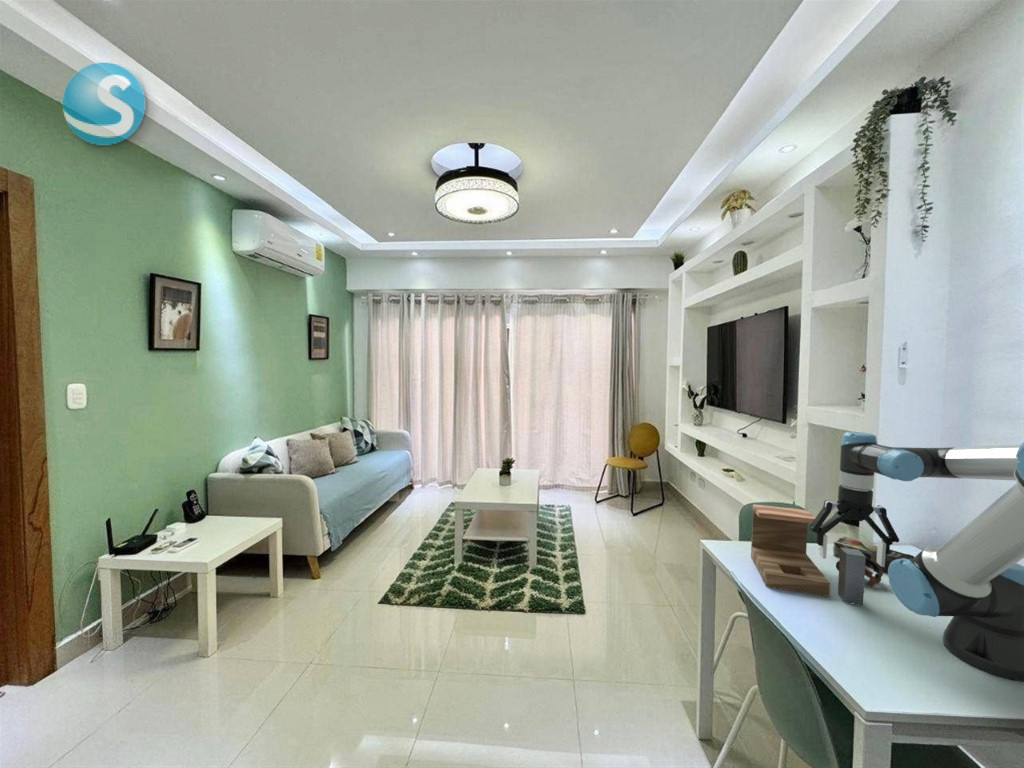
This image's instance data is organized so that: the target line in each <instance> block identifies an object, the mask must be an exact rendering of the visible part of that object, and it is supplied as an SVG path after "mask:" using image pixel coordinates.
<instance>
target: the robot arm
mask: <svg viewBox="0 0 1024 768" xmlns="http://www.w3.org/2000/svg"><path fill="white" fill-rule="evenodd" d="M840 443H841V444H840V458H839V459H840V460H839V479H838V480H839V481H838V484H839V485H838V489H837V490H838V491H837V502H834V501H829V500H828V499H826V500H825V499H824V501H823V506H822V508H821V509H820V511H819V512H818V514H817V515H816V517H815V519H814V521H813V522H812V523H810V525H809V530H811V531H812V532H813V533H815V534H816V540H815V541H816V544H817V546H819V556H820V557H821V558H822V559H824V560H825V559H827V550H828V535H827V533H829V531H830V530H832V529H833V528H835V527H836V526H837V525H838V524H839V523H841V522H842V521H845V520H847V521H848V520H849V521H857V522H863V521H865V522H866V523H867V524H868V526H869V527H870V528H871V529H872V530H873V531H874V532H875V533H876V534H877V536H878V537H879V538H880V539H877V545H876V546H877V560H876V562H877V563H878V564H879V565H880V566H881V567H885V554H889V552H890V550H891V546H892V545H893V543H899V542H900V538H899V537H898V534H897V532H896V531H895V529H894V527H893V525H892V523H891V521H890V519H889V518H888V516H887V515H888V513H887V511H888V510H887V509H886V508H885V507H884V506H882V505H880V504H879V505H877V506H873V500H874V491H873V489H874V486H875V485H874V484H875V483H874V481H875V474H878V475H881V476H884V477H887V478H889V479H891V480H899V481H901V482H912V481H914V480H916V479H919V478H942V479H969V480H970V479H972V480H994V481H995V480H996V481H998V480H999V481H1016V483H1015V484H1013V486H1012V487H1010V488H1009V489H1008V490H1007V491H1006V492H1004V493H1003V494H1002V495H1001V496H1000V497H999V498H997V499H996V500H994V502H993V503H991V504H990V505H989V506H987V508H986V509H984V510H983V511H981V513H979V514H978V515H977V516H975V518H973V519H972V520H971V521H969V522H968V524H966V525H965V526H964V527H963V528H962V529H960V530H959V531H958V532H957V533H955V534H954V535H952V537H951V538H950V539H948V540H947V541H946V542H945V543H944V544H942V545H938V544H937V545H927V546H926V547H925V548H924V549H922V550H921V551H920V552H919V553H917V554H916V555H915V556H914V558H912V559H906V558H902V559H901V558H900V559H896V560H894V561H892V562H891V563H890V565H889V568H888V574H887V576H888V579H889V580H888V582H889V584H890V588H891V590H892V591H893V594H894V595H895V597H896V598H897V599H898V600H899V602H900V603H901V604H902V605H903V606H904V607H905V608H907V610H909V611H911V612H913V613H915V614H916V615H920V616H927V617H933V618H936V617H952V618H951V619H950V621H949V623H948V624H947V627H946V628H945V629H944V631H943V635H942V643H943V645H944V647H945V648H946V650H948V651H949V652H950V653H951V654H952V655H954V656H955V657H957V658H959V659H960V660H962V661H963V662H965V663H967V664H969V665H971V666H973V667H974V668H975V667H976V668H978V669H980V670H982V671H984V672H987V673H990V674H992V675H996V676H998V677H1002V678H1006V679H1009V680H1013V681H1019V682H1024V565H1021V564H1018V562H1020V561H1021V560H1023V559H1024V441H1023V442H1022V443H1021V444H1019V445H1018V444H1016V445H1014V444H1013V445H993V446H992V445H991V446H989V445H988V446H987V445H986V446H962V447H961V446H958V447H957V446H956V447H955V446H954V447H953V446H952V447H950V446H949V447H907V446H906V447H905V446H904V447H902V446H901V447H898V446H897V447H896V446H895V447H894V446H887V445H882V444H878V440H877V436H876V435H875V434H874V433H873V434H872V433H868V432H859V431H846V432H844V433H843V434H842V438H841V442H840ZM836 508H837V511H835V513H834V514H833V515H832V516H831V517H830V518H828V516H830V514H831V512H832V511H833V510H834V509H836ZM873 513H875V514H876V515H877V517H878V518H879V521H880V523H882V526H883V528H884V529H885V531H886V533H885V532H884V531H883V530H882V529H881V528H880V527H879V526H878V524H877V523H876V522H875V521H874V520H873V518H871V514H873ZM827 518H828V519H827ZM887 535H888V536H887Z"/></svg>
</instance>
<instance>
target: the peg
mask: <svg viewBox="0 0 1024 768" xmlns="http://www.w3.org/2000/svg"><path fill="white" fill-rule="evenodd" d="M838 559H839V560H838V561H839V571H838V583H837V595H838V597H839V598H840V599H841V600H842V602H843V601H844V602H847V603H846V604H850V603H854V604H853V605H856V604H860V605H859V606H862V605H863V606H864V598H865V595H864V594H865V577H866V575H865V567H866V566H865V561H866V556H865V555H864V554H863V553H861V552H860V551H859V550H856V549H848V548H840V558H838ZM844 602H843V603H844Z"/></svg>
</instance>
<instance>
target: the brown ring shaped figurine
mask: <svg viewBox="0 0 1024 768" xmlns="http://www.w3.org/2000/svg"><path fill="white" fill-rule="evenodd" d="M865 564H868V565H872V567H873V569H872V570H873V571H872V570H870V569H868V567H866V566H865V577H867V578H869V581H868V582H867V586H869V587H870V588H872V587H875V585H878V584H880V583H881V582H882V577H883V576H884V572H883V571H882V570H881V568H880V567H879V566H878V565H877V564H876V563H875V562H874V561H872V560H871V559H869V558H867V557H866V561H865ZM835 567H836V568H835V569H836V570H837V571H838V572H839V560H837V561H836V563H835ZM873 572H875V574H874V573H873Z"/></svg>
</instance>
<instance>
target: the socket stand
mask: <svg viewBox="0 0 1024 768" xmlns="http://www.w3.org/2000/svg"><path fill="white" fill-rule="evenodd" d="M815 518H816V517H815V516H814V515H813V514H812V513H811V512H810V511H809V510H808V509H803V508H802V509H801V508H792V507H781V506H774V505H773V506H772V505H764V504H763V505H762V504H755V503H754V504H752V518H751V519H752V521H751V544H750V547H751V548H750V557H751V560H752V562H753V564H754V565H755V567H756V569H757V572H758V573H759V575H760V577H761V579H762V582H763V583H764V585H765V587H767V586H770V587H769V588H773V587H776V588H775V589H779V588H782V589H781V590H785V589H788V590H787V591H792V592H799V593H804V594H811V595H817V596H823V597H824V596H825V597H830V590H831V589H830V588H831V587H830V586H831V583H830V581H829V580H828V579H827V577H826V576H825V575H824V574H823V572H821V570H820V569H819V568H818V566H817V565H816V564H815V563H814V561H812V559H811V558H810V557H809V555H808V554H807V547H808V546H807V543H808V524H812V522H813V521H814V519H815Z"/></svg>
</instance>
